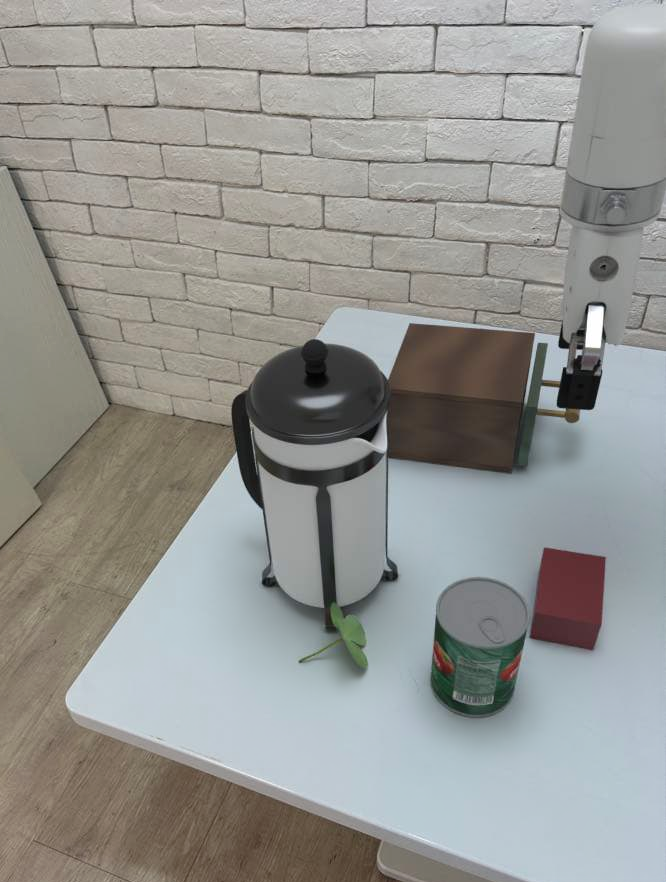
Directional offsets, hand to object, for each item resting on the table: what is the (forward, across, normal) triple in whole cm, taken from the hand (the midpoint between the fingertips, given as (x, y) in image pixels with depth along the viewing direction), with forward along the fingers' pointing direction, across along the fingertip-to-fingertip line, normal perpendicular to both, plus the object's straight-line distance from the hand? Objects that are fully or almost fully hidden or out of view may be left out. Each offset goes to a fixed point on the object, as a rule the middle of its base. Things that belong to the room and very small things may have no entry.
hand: (574, 376), depth 75 cm
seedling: (+21, -20, +19) cm, 35 cm away
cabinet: (+21, +17, +11) cm, 29 cm away
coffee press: (+21, -11, +23) cm, 33 cm away
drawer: (+20, +17, +7) cm, 27 cm away
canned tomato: (+21, -22, +6) cm, 31 cm away
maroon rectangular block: (+21, -11, -2) cm, 24 cm away
